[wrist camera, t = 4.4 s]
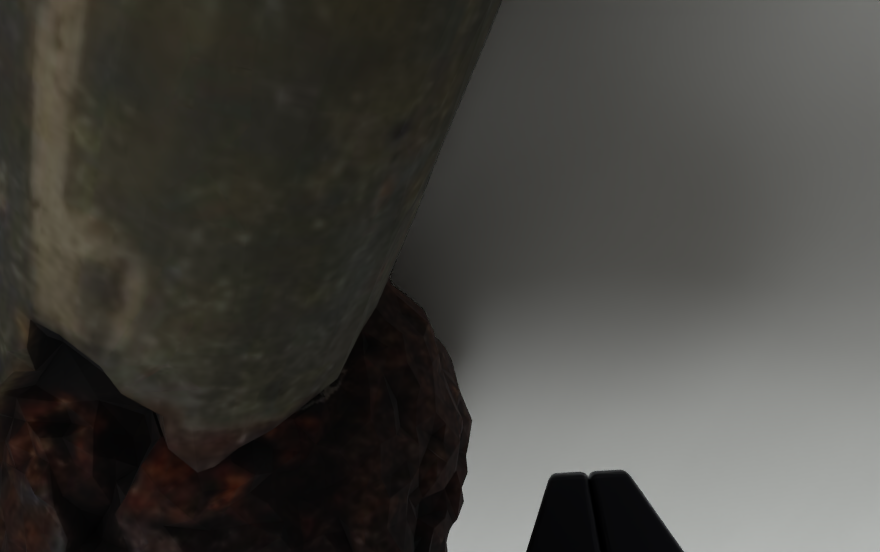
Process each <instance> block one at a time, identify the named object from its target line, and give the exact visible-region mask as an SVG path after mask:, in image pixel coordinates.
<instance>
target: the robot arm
mask: <svg viewBox="0 0 880 552" xmlns="http://www.w3.org/2000/svg"><path fill="white" fill-rule="evenodd" d="M526 552H684V551H683V550H682V548H681V547H680V546H679V544H678V543H677V541H676V540H675V538H674V537H673V536H672V534H671V533H670V531H669V530H668V528H667V527H666V526H665V524H664V523H663V521H662V520H661V519H660V517H659V516H658V514H657V513H656V511H655V510H654V509H653V507H652V506H651V504H650V503H649V501H648V500H647V499H646V497H645V496H644V494H643V493H642V491H641V490H640V489H639V487H638V486H637V484H636V483H635V482H634V480H633V479H632V477H631V476H630V475H629V474H628V473H627V472H626V471H623V470H606V471H594V472H592V473H590V475H589V478H588V476H587V475H586V474H585V473H583V472H569V473H555V474H553V475H551V477H550V478H549V480H548V483H547V486H546V490H545V493H544V496H543V499H542V503H541V506H540V509H539V512H538V516H537V519H536V522H535V525H534V528H533V532H532V535H531V538H530V541H529V545H528V548H527V551H526Z"/></svg>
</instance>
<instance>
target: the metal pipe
mask: <svg viewBox="0 0 880 552" xmlns="http://www.w3.org/2000/svg"><path fill="white" fill-rule="evenodd" d="M501 2H502V0H0V552H447V544H446V541H447V537H448V533H449V530H450V528H451V526H452V525H453V523H454V522H455V521H456V520H457V518H458V515H459V513H460V510H461V507H462V505H463V502H464V500H463V494H462V485H463V483H464V480H465V478H466V475H467V473H468V471H467V462H466V453H467V448H468V443H469V437H470V430H471V423H472V419H471V417H470V414H469V412H468V410H467V407H466V405H465V402H464V400H463V398H462V395H461V393H460V390H459V386H458V383H457V379H456V375H455V371H454V367H453V364H452V360H451V358H450V356H449V354H448V352H447V350H446V349H445V347H444V345H443V344H442V343H441V342H440V341H439V340H438V339H437V338H436V337H435V334H434V331H433V329H432V327H431V325H430V322H429V320H428V318H427V316H426V314H425V312H424V310H423V309H422V308H421V307H420V306H419V305H417V304H416V303H415V302H414V301H413V300H411V299H410V298H409V297H408V296H406V295H405V294H404V293H402V292H401V291H400V290H398V289H397V288H395V287H394V286H393V285H392V283H391V281H390V278H389V276H390V273H391V271H392V269H393V266H394V264H395V262H396V259H397V257H398V255H399V252H400V250H401V247H402V245H403V243H404V240H405V238H406V236H407V233H408V231H409V229H410V226H411V224H412V222H413V219H414V217H415V214H416V212H417V209H418V207H419V204H420V201H421V199H422V196H423V193H424V191H425V188H426V186H427V183H428V180H429V178H430V175H431V172H432V170H433V167H434V165H435V162H436V159H437V157H438V154H439V151H440V149H441V147H442V144H443V142H444V139H445V137H446V135H447V132H448V130H449V127H450V125H451V123H452V120H453V118H454V115H455V113H456V111H457V108H458V106H459V103H460V101H461V99H462V96H463V94H464V92H465V89H466V87H467V84H468V82H469V80H470V77H471V75H472V72H473V70H474V68H475V65H476V63H477V60H478V58H479V56H480V53H481V51H482V48H483V46H484V44H485V41H486V39H487V36H488V34H489V31H490V29H491V26H492V24H493V22H494V19H495V17H496V14H497V12H498V9H499V7H500V4H501Z"/></svg>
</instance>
